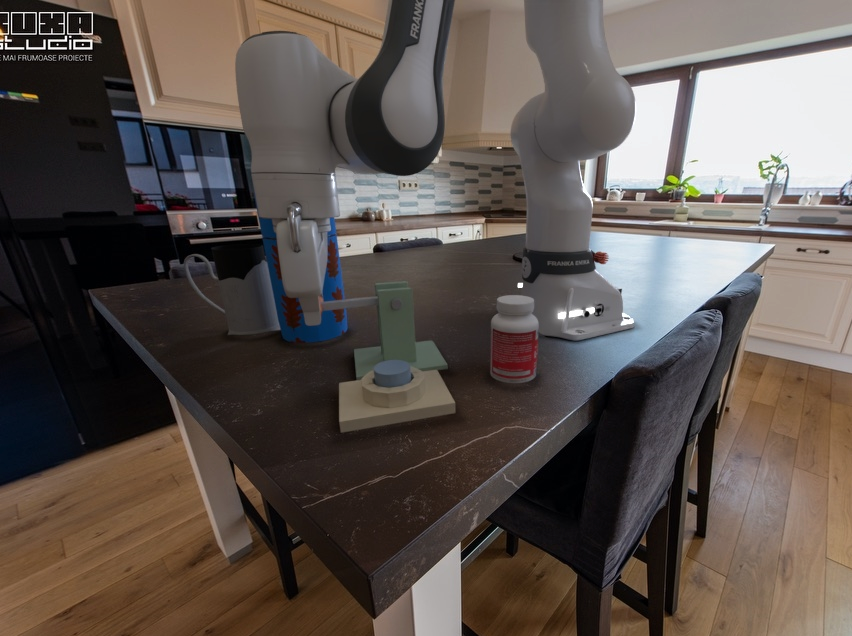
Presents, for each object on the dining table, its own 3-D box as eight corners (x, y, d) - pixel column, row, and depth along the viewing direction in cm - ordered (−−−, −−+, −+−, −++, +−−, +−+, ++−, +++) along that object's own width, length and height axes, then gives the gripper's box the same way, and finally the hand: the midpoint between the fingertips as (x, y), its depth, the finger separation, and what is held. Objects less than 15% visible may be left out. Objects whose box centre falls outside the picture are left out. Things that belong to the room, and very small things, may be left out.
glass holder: (267, 340, 67) (248, 250, 61) (184, 340, 67) (158, 250, 62) (291, 324, 75) (276, 243, 70) (217, 323, 75) (197, 243, 70)
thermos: (326, 350, 63) (301, 180, 54) (267, 345, 65) (233, 180, 56) (359, 328, 73) (342, 182, 64) (307, 324, 75) (283, 182, 66)
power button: (408, 371, 47) (407, 357, 46) (413, 386, 43) (413, 371, 43) (373, 376, 46) (372, 362, 45) (376, 391, 42) (375, 376, 42)
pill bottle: (542, 386, 51) (547, 304, 47) (496, 391, 50) (498, 307, 46) (526, 367, 57) (530, 292, 53) (485, 371, 55) (485, 294, 51)
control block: (437, 384, 52) (436, 356, 50) (455, 419, 44) (454, 387, 42) (341, 398, 48) (337, 369, 47) (341, 440, 40) (336, 405, 39)
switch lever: (307, 323, 48) (304, 304, 47) (310, 310, 53) (307, 293, 53) (408, 312, 52) (406, 294, 51) (401, 300, 57) (400, 284, 56)
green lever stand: (357, 387, 51) (346, 298, 47) (354, 358, 60) (345, 281, 56) (447, 374, 54) (445, 290, 50) (432, 348, 63) (429, 275, 59)
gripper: (324, 204, 38) (341, 339, 43) (329, 200, 56) (340, 295, 61) (251, 204, 36) (277, 345, 41) (280, 200, 54) (296, 298, 59)
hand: (315, 315), depth 51 cm, fingers closed on switch lever, 6 cm apart
